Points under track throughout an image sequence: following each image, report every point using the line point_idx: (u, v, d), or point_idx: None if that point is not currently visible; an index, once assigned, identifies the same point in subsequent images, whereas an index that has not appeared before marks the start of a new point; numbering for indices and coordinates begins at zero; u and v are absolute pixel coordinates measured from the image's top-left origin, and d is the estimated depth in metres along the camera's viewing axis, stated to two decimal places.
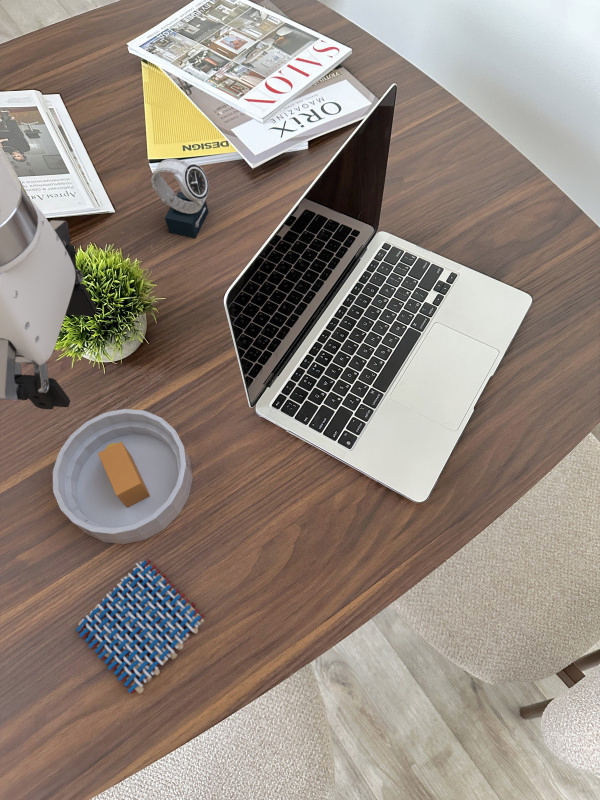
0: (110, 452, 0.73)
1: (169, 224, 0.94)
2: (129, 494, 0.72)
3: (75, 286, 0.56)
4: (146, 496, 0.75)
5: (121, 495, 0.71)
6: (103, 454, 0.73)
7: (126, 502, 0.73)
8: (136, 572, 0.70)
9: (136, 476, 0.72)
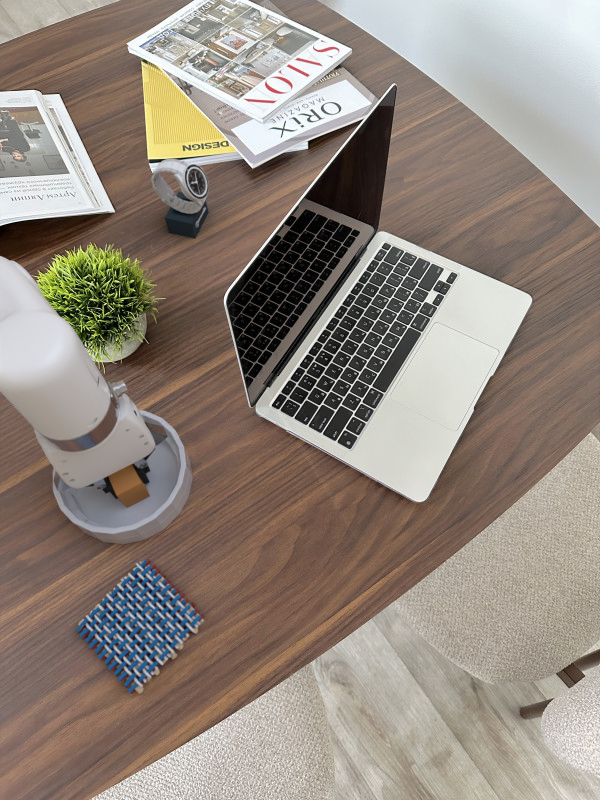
0: None
1: (169, 224, 0.94)
2: (129, 494, 0.72)
3: (137, 466, 0.72)
4: (146, 496, 0.75)
5: (121, 495, 0.71)
6: None
7: (126, 502, 0.73)
8: (136, 572, 0.70)
9: (136, 476, 0.72)
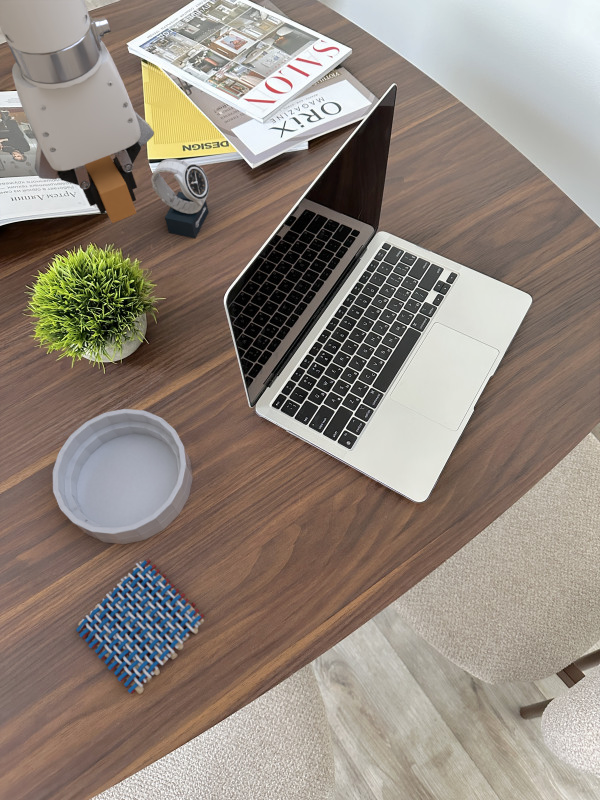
0: None
1: (169, 224, 0.94)
2: (114, 198, 0.69)
3: (122, 171, 0.70)
4: (132, 212, 0.72)
5: (105, 196, 0.69)
6: None
7: (111, 211, 0.71)
8: (136, 572, 0.70)
9: (121, 178, 0.69)
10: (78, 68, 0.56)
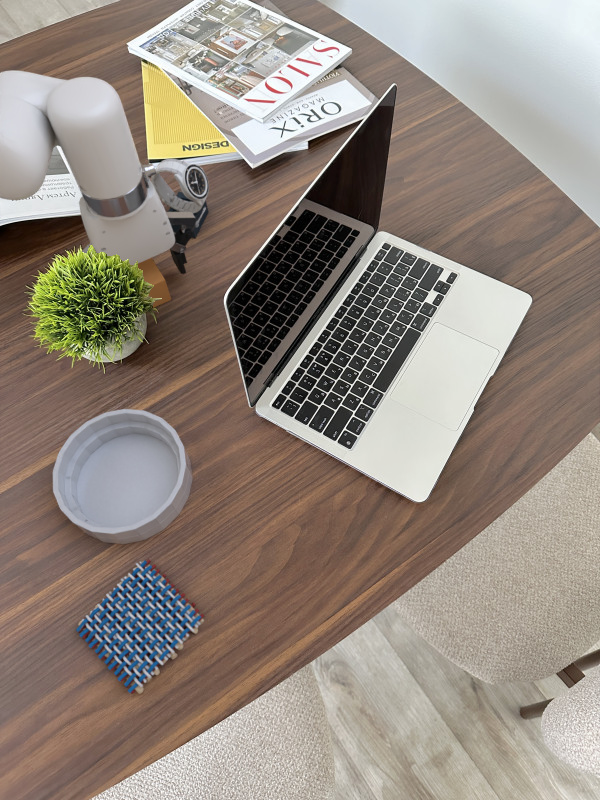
0: None
1: None
2: (155, 290, 0.86)
3: (177, 252, 0.86)
4: (168, 299, 0.89)
5: None
6: None
7: None
8: (136, 572, 0.70)
9: (161, 275, 0.86)
10: (132, 206, 0.72)
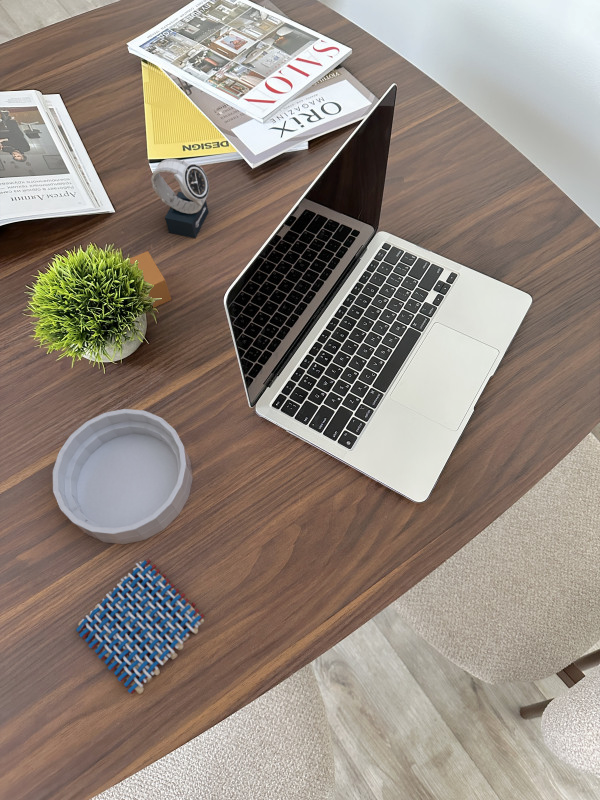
0: (138, 258, 0.87)
1: (169, 224, 0.94)
2: (155, 290, 0.86)
3: None
4: (168, 299, 0.89)
5: None
6: (132, 259, 0.87)
7: None
8: (136, 572, 0.70)
9: (161, 275, 0.86)
10: None
